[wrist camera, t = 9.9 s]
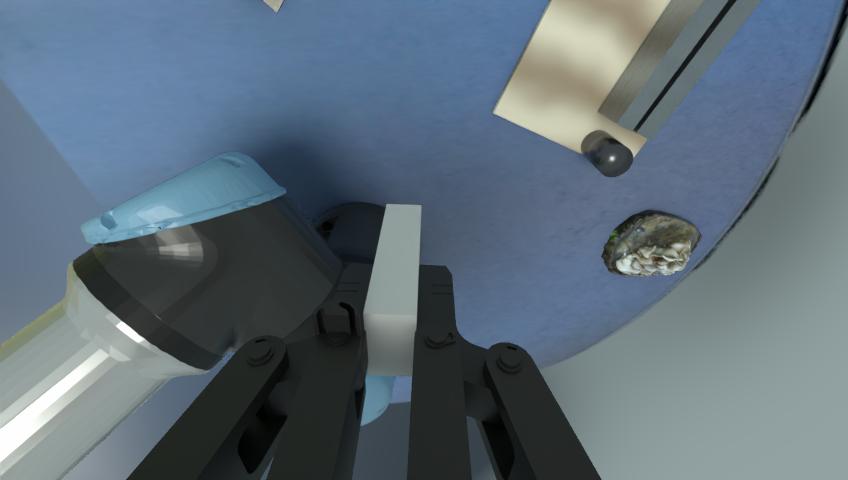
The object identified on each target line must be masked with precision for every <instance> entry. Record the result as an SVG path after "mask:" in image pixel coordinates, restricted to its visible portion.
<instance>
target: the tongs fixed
mask: <svg viewBox="0 0 848 480" xmlns="http://www.w3.org/2000/svg"><path fill="white" fill-rule="evenodd" d="M760 2H761V0H728V2H727V3H726V4H725V6H724V7H723V8H722V10H721V11H720V13H719V14H718V15H717V17H716V18H715V19H714V21H713V22H712V23H711V25H710V26H709V27H708V29H707V30H706V32H705V33H704V34H703V36H702V37H701V38H700V40H699V41H698V42H697V44H696V45H695V47H694V48H693V49H692V51H691V52H690V53H689V55H688V56H687V57H686V59H685V60H684V61H683V63H682V64H681V66H680V67H679V68H678V70H677V71H676V72H675V74H674V75H673V76H672V78H671V79H670V80H669V82H668V83H667V85H666V86H665V87H664V89H663V90H662V91H661V93H660V94H659V95H658V97H657V98H656V100H655V101H654V102H653V104H652V105H651V106H650V108H649V109H648V110H647V112H646V113H645V114H644V116H643V117H642V119H641V120H640V121H639V123H638V124H637V125H636V127H635V128H634V129H633V131H634V132H635V133H637V134H639V135H641V136H643V137H645V138H647V139H649V140H652V139H653V137H654V136H655V135H656V134H657V132H658V131H659V130H660V128H661V127H662V126H663V125H664V123H665V122H666V121H667V120H668V118H669V117H670V116H671V115H672V113H673V112H674V111H675V109H676V108H677V107H678V106H679V104H680V103H681V102H682V101H683V99H684V98H685V97H686V96H687V94H688V93H689V92H690V90H691V89H692V88H693V87H694V85H695V84H696V83H697V82H698V80H699V79H700V78H701V77H702V75H703V74H704V73H705V71H706V70H707V69H708V68H709V66H710V65H711V64H712V63H713V61H714V60H715V59H716V58H717V56H718V55H719V54H720V52H721V51H722V50H723V49H724V47H725V46H726V45H727V44H728V42H729V41H730V40H731V39H732V37H733V36H734V35H735V33H736V32H737V31H738V30H739V28H740V27H741V26H742V25H743V23H744V22H745V21H746V19H747V18H748V17H749V16H750V14H751V13H752V12H753V11H754V9H755V8H756V7H757V6H758V4H759V3H760ZM581 152H582V154H583V155H584V156H585V157H586V158H587V159H588V160H589V161H590V162H591V163H592V164H593V165H594V166H595V167H596V168H597V169H598V170H599V171H600V172H601V173H602V174H603V175H605V176H607V177H616V176H619V175H621V174H623V173H625V172H626V171H627V170H628V169H629V168H630V166H631V164H632V162H633V153H632V151H631V150H630V149H629V148H627V147H626V146H625V145H623V144H622V143H621V142H619V141H618V140H617V139H615V138H614V137H613V136H611V135H610V134H608V133H607V132H606V131H603V130H596V131H593V132H591V133H589V134H588V135H587V136H586V137H585V138H584V139H583V141H582V143H581Z"/></svg>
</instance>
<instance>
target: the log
mask: <svg viewBox="0 0 848 480" xmlns="http://www.w3.org/2000/svg"><path fill="white" fill-rule="evenodd" d="M701 238H702V235H701V234H700V232H699V230H698V229H697V228H696V227H695V226H694V225H693V224H691V223H689V222H688V221H686V220H684V219H681V218H679V217H676V216H673V215H670V214H667V213H664V212H652V211H650V212H645V213H641V214H636V215H632V216H631V217H629V218H628V219H627V220H626V221H624V222H623V223H622V224H620V225H619V226H618V227H617V228H615V230H614V231H613V232H612V233H611V235H610V238H609V240H608V242H607V243H606V244H605V245H604V251H603V254H602V256H601V257H602V258H603V259H604V260H605V261H604V263H605V265H606V266H607V267H608V271H609V272H611V273H614V274H619V275H621V276H629V277H630V276H640V277H643V276H645V277H648V276H650V275H653V276H656V275H658V274H659V272H661V273H663V275H670V274H674V273H675V271H680V270H682V269H684V267H685V266H686V262H687V261H688V260H689V256H688V255H690V254H691V253H692V252H693V251H694V249H695V248H696V247H697V243H699V242H700V240H701Z"/></svg>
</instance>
